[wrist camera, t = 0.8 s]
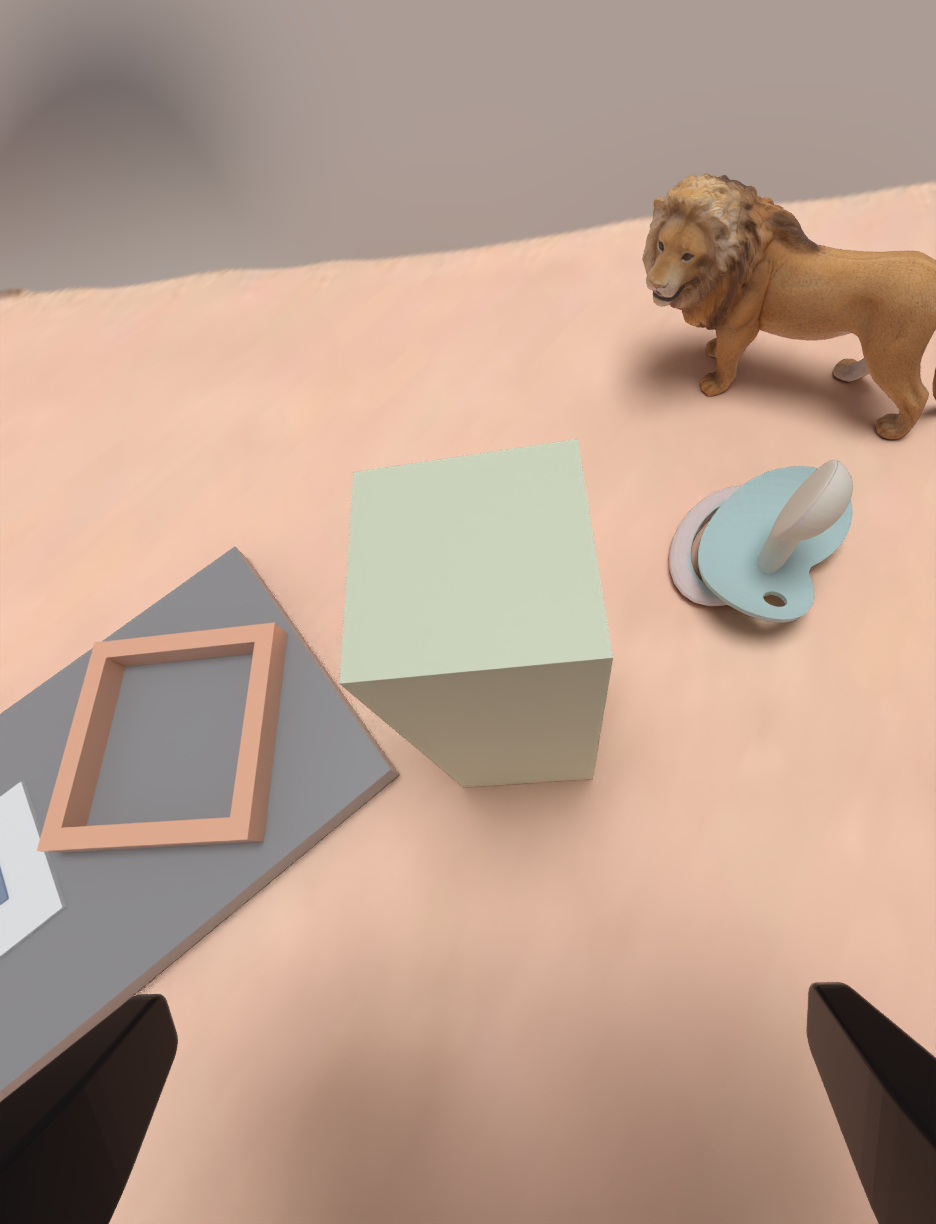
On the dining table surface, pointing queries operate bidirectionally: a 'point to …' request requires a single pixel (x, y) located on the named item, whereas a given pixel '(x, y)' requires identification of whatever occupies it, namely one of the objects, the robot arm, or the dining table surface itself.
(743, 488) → the pacifier
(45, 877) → the baseplate
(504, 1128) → the dining table surface
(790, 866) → the dining table surface
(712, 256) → the lion figurine
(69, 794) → the collar
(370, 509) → the pillar
